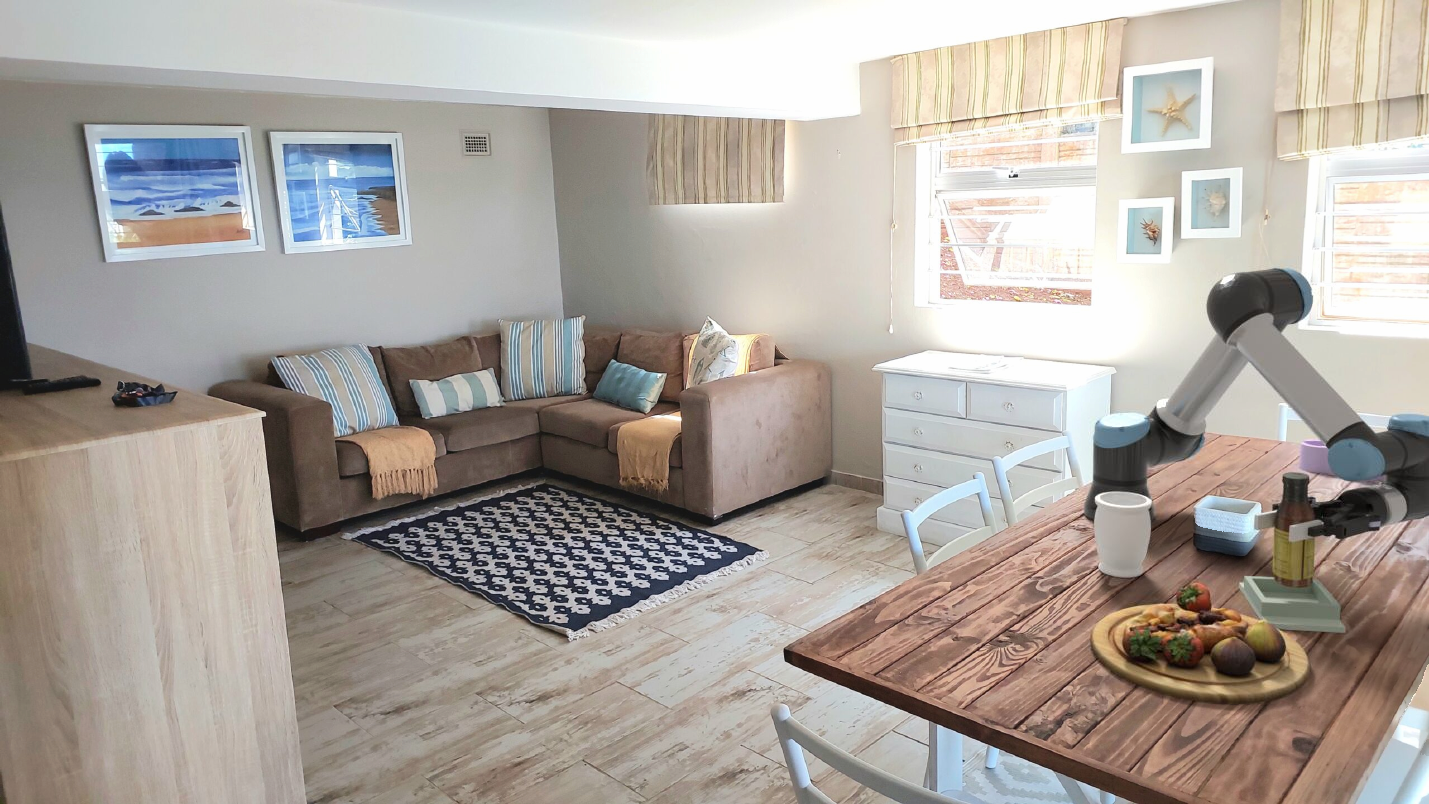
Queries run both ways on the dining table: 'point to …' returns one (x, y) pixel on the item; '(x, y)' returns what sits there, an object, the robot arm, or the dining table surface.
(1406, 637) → the dining table surface
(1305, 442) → the purple holder
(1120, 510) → the jar
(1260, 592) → the stand
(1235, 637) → the wooden plate with food
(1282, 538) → the sauce bottle
